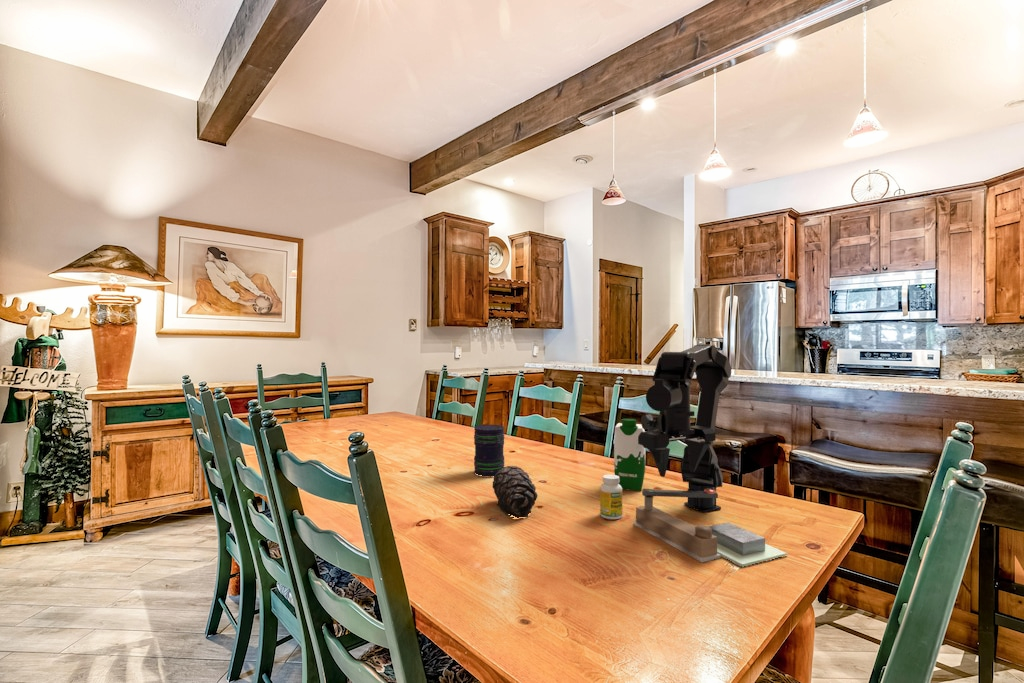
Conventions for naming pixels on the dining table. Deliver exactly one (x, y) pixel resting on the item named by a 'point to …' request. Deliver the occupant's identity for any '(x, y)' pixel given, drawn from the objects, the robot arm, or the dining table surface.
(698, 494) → the lever
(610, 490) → the supplement bottle
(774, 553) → the mat
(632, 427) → the milk carton
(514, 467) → the pine cone
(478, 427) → the storage jar
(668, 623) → the dining table surface
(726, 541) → the flat grey slab block
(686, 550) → the body
